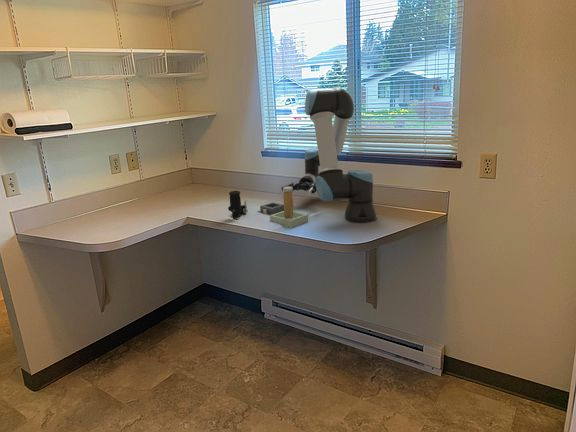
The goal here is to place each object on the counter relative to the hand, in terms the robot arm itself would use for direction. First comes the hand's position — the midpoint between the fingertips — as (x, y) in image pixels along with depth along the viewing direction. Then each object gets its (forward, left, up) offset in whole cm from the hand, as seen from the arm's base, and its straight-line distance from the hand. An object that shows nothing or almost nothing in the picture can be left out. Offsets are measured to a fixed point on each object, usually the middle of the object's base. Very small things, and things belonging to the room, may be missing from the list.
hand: (295, 194), depth 220 cm
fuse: (-4, +9, -10) cm, 14 cm away
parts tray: (-4, +9, -11) cm, 15 cm away
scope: (+22, +20, -12) cm, 32 cm away
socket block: (+14, +3, -11) cm, 19 cm away
